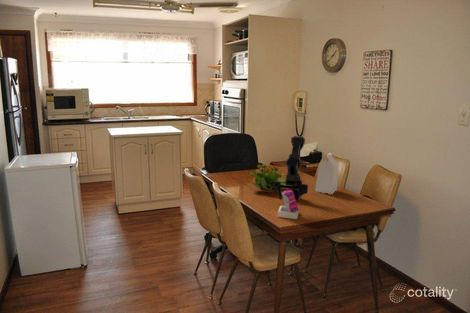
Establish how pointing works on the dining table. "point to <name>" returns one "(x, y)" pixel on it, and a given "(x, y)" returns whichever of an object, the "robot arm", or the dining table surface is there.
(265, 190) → the potted flower
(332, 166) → the milk
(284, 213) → the collar
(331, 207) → the dining table surface
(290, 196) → the supplement box
